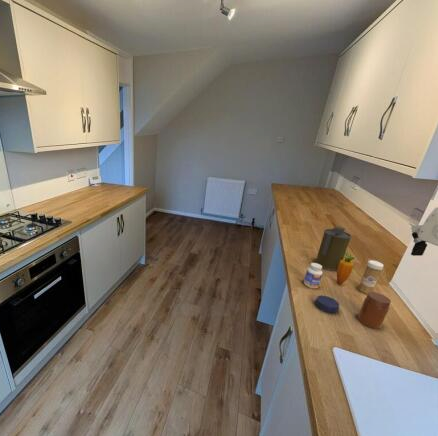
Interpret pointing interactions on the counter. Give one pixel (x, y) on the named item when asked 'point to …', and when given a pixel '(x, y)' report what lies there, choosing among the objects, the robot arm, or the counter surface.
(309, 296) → the counter surface
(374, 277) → the sprinkles bottle
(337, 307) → the lid
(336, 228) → the canister
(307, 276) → the pill bottle
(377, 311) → the jar
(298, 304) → the counter surface
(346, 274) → the carrot
